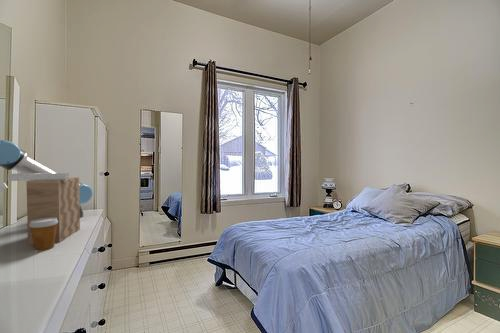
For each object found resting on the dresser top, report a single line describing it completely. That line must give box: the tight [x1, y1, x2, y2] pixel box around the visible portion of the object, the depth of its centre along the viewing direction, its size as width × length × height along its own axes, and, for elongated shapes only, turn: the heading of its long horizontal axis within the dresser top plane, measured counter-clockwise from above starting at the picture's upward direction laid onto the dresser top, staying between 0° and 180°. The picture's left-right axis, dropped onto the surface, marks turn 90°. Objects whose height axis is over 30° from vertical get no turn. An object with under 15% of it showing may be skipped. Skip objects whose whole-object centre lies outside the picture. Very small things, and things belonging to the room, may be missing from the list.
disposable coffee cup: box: [29, 218, 58, 252], centre depth 104 cm, size 10×10×12 cm
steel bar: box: [7, 172, 70, 182], centre depth 113 cm, size 4×22×3 cm, turn 105°
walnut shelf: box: [26, 176, 81, 246], centre depth 120 cm, size 22×12×28 cm, turn 14°
